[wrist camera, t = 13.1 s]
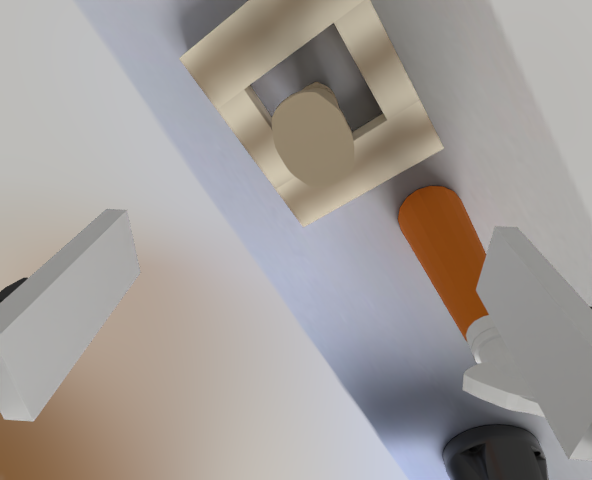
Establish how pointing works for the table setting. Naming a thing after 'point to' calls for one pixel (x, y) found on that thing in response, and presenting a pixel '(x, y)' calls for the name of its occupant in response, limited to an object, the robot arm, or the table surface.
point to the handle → (313, 136)
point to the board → (278, 46)
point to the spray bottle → (464, 292)
